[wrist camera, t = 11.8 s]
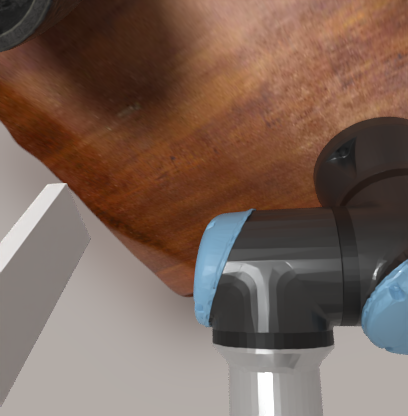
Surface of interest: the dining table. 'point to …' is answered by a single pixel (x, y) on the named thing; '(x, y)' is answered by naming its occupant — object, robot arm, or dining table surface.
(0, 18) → the planter
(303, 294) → the robot arm
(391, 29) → the dining table surface
